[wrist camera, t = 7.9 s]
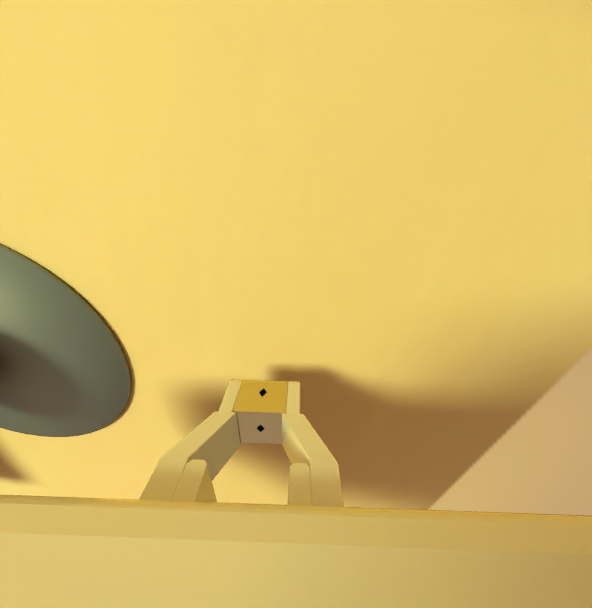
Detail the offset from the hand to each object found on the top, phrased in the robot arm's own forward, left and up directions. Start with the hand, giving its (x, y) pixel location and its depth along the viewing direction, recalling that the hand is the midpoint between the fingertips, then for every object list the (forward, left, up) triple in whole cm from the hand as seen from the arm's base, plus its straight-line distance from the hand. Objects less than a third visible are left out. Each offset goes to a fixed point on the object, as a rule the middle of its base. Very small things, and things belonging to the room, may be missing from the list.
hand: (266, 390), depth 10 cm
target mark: (0, -14, -2) cm, 14 cm away
